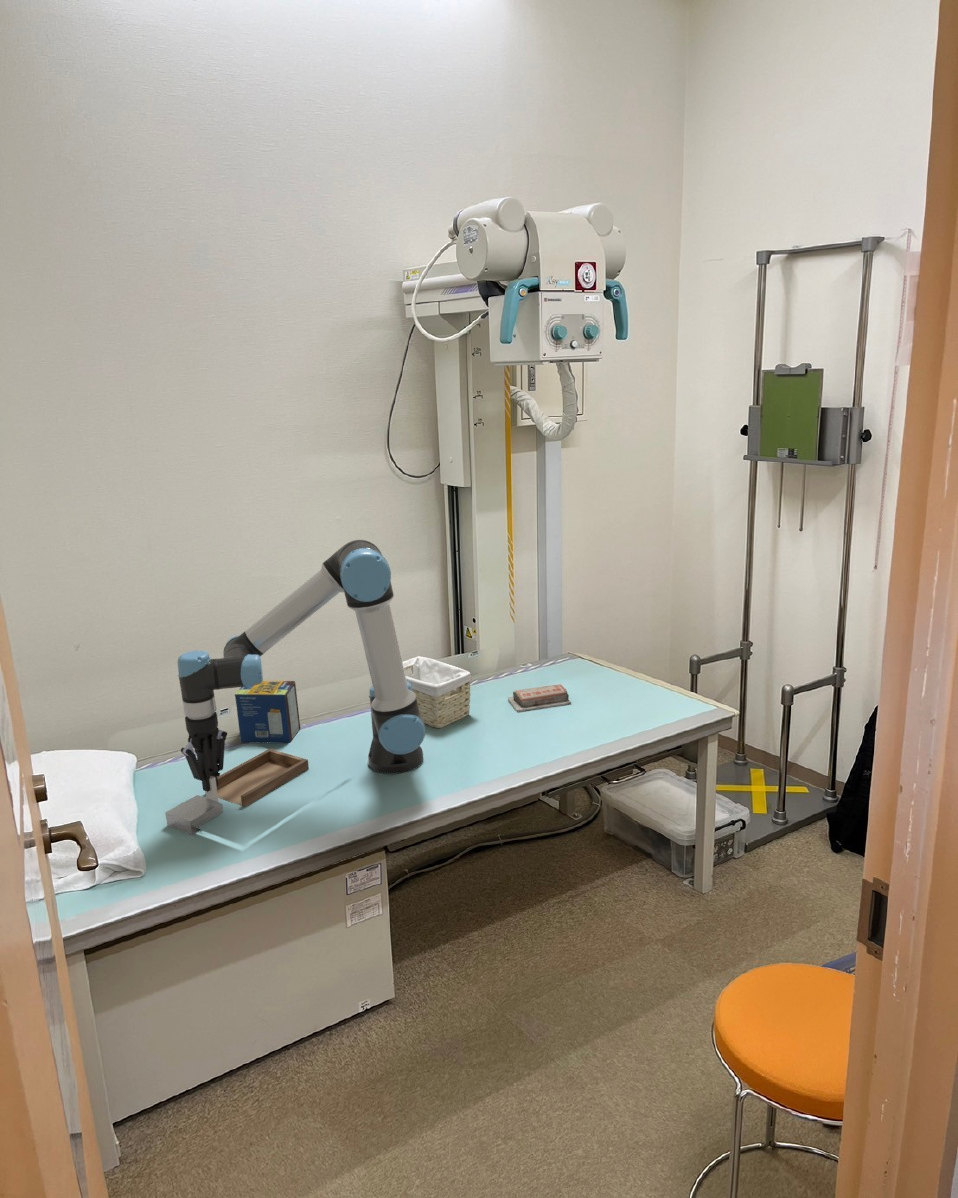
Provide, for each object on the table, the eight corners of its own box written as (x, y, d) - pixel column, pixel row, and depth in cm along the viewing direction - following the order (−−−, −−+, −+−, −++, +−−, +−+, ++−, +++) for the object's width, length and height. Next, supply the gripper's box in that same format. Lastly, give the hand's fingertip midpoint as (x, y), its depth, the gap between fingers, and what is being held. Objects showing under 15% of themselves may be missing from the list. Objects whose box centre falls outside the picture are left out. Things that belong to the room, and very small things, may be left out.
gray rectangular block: (224, 817, 228) (222, 803, 227) (192, 836, 220) (190, 821, 219) (199, 809, 233) (197, 794, 232) (167, 827, 225) (165, 812, 224)
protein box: (251, 728, 279) (246, 680, 275) (300, 728, 278) (296, 680, 273) (239, 743, 269) (233, 694, 265) (290, 743, 268) (285, 694, 263)
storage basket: (475, 715, 282) (473, 670, 278) (438, 733, 271) (435, 686, 267) (422, 697, 298) (419, 654, 294) (384, 713, 287) (381, 668, 282)
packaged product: (560, 680, 295) (571, 691, 286) (560, 694, 296) (571, 705, 287) (506, 687, 291) (516, 699, 281) (507, 702, 292) (516, 714, 283)
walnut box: (309, 773, 249) (307, 759, 248) (245, 811, 230) (244, 796, 229) (270, 761, 257) (269, 748, 255) (206, 797, 238) (204, 783, 237)
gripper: (210, 701, 231) (221, 786, 237) (168, 720, 220) (181, 808, 227) (231, 707, 227) (242, 792, 234) (189, 726, 216) (202, 815, 223)
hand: (212, 800), depth 230 cm, fingers closed
